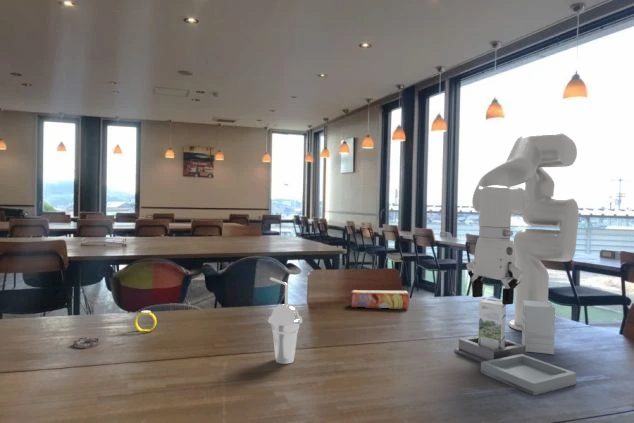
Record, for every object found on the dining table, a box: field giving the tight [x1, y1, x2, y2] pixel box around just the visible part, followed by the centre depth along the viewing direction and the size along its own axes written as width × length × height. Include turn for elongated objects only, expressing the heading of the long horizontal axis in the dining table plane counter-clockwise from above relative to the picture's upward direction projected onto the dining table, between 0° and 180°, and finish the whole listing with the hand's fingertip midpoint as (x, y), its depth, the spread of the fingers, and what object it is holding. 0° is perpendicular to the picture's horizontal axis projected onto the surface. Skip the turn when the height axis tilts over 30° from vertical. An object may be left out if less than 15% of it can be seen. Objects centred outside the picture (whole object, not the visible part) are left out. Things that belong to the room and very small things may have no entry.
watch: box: [134, 309, 158, 333], centre depth 136 cm, size 6×3×6 cm, turn 93°
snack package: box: [350, 289, 410, 310], centre depth 172 cm, size 21×7×7 cm, turn 84°
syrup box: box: [477, 297, 507, 349], centre depth 120 cm, size 6×6×14 cm
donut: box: [73, 337, 100, 350], centre depth 122 cm, size 8×8×2 cm
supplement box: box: [521, 300, 556, 355], centre depth 126 cm, size 7×7×13 cm
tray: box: [480, 354, 577, 397], centre depth 105 cm, size 14×14×2 cm
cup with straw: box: [267, 276, 304, 365], centre depth 113 cm, size 8×9×20 cm
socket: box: [453, 335, 527, 363], centre depth 120 cm, size 13×13×4 cm
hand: (492, 300), depth 119 cm, fingers open, 9 cm apart
